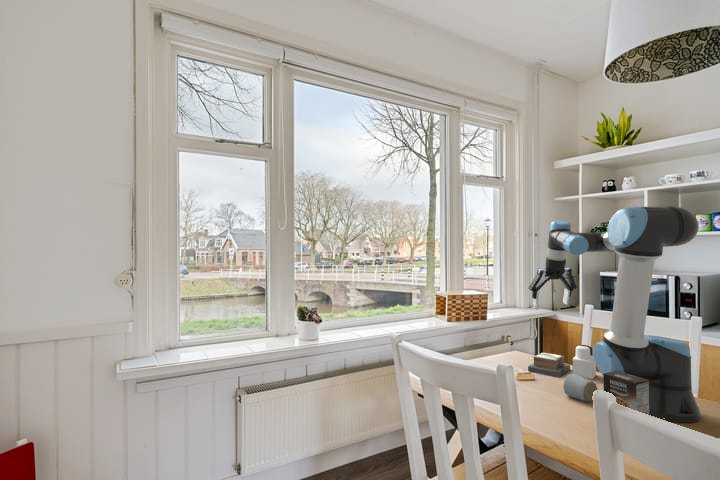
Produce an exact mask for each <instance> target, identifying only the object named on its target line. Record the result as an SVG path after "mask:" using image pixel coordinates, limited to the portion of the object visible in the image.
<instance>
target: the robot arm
mask: <svg viewBox="0 0 720 480" xmlns="http://www.w3.org/2000/svg"><path fill="white" fill-rule="evenodd" d="M571 225H572V224H571V223H570V222H569V221H565V220H553V221H551V223H550V227H549V233H548V239H547V240H548V241H547V250H546V251H547V252H546V258H545V268H544V269H542V268H537V272H536V274H535V276H534V277H533V279H532V281H531V282H530V284H529V286H528V287H527V288H528V289H529V290H530V291H531V297H532V304H533V306H535V307H536V308H537V307H538V306H539V298H540V292H539V291H540V290H541V289H542V288H543V287H544V286H545V284H546V283H547V282H549V281H550V280H560V281H561V282H562V284H563V285H564V286H565V287H566V288H564V291H563V298H562V303H563V304H565V306H568V305H569V302H570V301H569V300H570V298H571V296H572V292H573V291H574V290H576V289H577V288H578V287H577V284H576V281H575V279H574V276H573V272H572V271H573V269H572V268H570V267H568V266H566V265H567V256H568V254H571V255H573V256H581V255H583V254H585V253H593V252H596V253H598V252H599V253H600V252H602V253H603V252H605V253H606V252H608V253H612V252H613V253H614V252H615V253H616V254H617V255H618V256H619V259H618V266H617V267H618V268H617V274H616V275H617V276H616V282H615V289H614V290H615V292H614V298H613V307H612V314H611V323H610V329H608V330H606V331H605V332H604V333H603V340H602V341H598V342H596V343H595V344H594V345H593V348H592V355H593V357H594V360H595V363H596V368H597V370H598V371H599V372H600V373H601V375H602V376H603V374H604V373H607V372H614V371H619V372H623V373H626V374H630V375H633V376H637V377H640V378H644V379H648V380H649V416H650V415H652V416H651V417H653V416H655V417H654V418H656V417H658V418H657V419H659V418H660V419H659V420H663V418H665V419H664V421H669V422H673V421H674V423H681V422H682V423H685V424H686V423H687V424H688V423H690V424H691V423H697V422H699V421H700V420H701V412H700V411H701V410H700V408H699V406H698V404H697V401H696V398H695V396H694V394H693V389H692V388H693V387H692V355H691V348H690V345H689V344H688V343H687V342H685V341H682V340H679V339H674V338H671V337H666V336H658V335H649V334H646V335H645V328H646V323H647V316H648V308H649V301H650V294H651V288H652V280H653V276H654V275H653V273H654V268H655V267H654V266H655V261H656V260H658V259H660V258H661V257H662V256H663V252H664V251H663V250H664V248H665V247H678V246H682V245H685V244H688V243H690V242H691V241H692V240H693V239H694V238H695V237H696V236H697V234H698V231H699V221H698V219H697V217H696V215H695V214H693V212H692V211H690V210H688V209H686V208H683V207H680V206H671V205H670V206H633V207H623V208H621V209H619V210H617V211H616V212H615V213H614V214H613V215H612V216H611V218H610V220H609V223H608V225H607V231H601V232H597V231H596V232H574V231H573V230H571V229H572V226H571ZM564 274H565V275H566V277H567V279H566V278H565V275H564ZM567 280H568V281H567ZM676 421H677V422H676Z"/></svg>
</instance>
